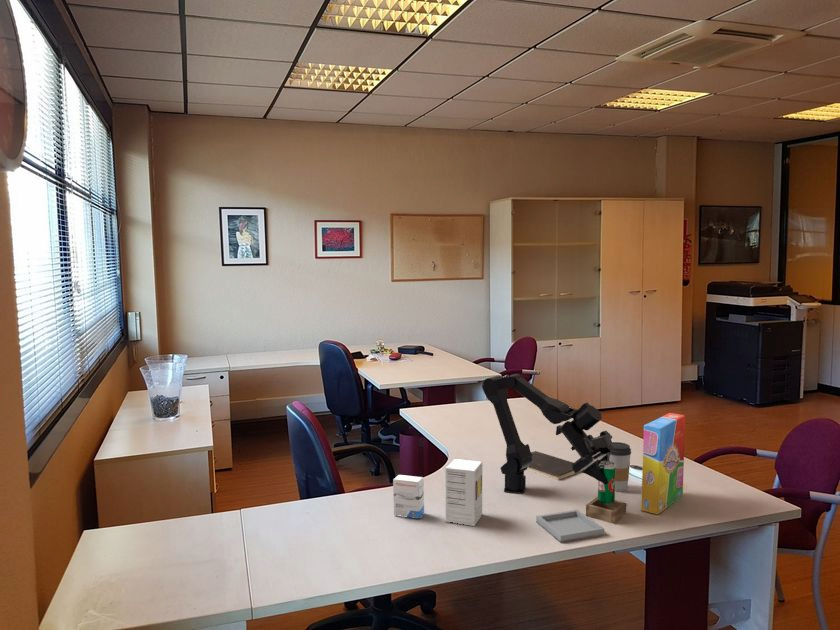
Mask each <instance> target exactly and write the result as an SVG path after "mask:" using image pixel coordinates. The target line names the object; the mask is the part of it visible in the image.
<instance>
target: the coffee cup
mask: <svg viewBox="0 0 840 630" xmlns="http://www.w3.org/2000/svg"><path fill="white" fill-rule="evenodd" d="M612 443H613V444H611V445H612V446H613V448H614V449H613V450H611V451H610V452H611V454H610V459H609V460H610V461H611V462H613V463H615V467H616V480H615V492H618V493H619V492H626V491H627V489H628V482H629V477H630V465H631V454H632V448H631V446H630V445H629V444H628V443H626V442H620V441H618V442H617V441H612ZM610 452H609V453H610Z"/></svg>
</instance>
